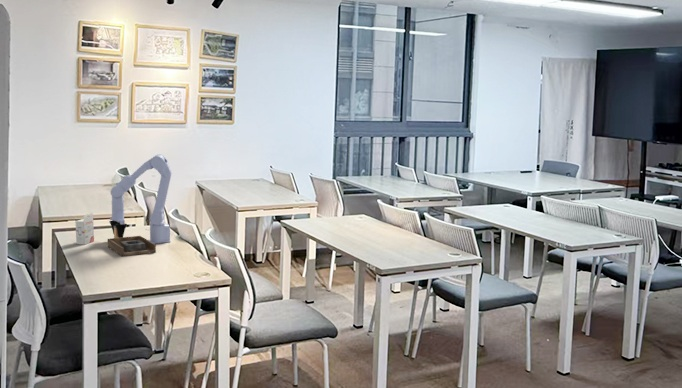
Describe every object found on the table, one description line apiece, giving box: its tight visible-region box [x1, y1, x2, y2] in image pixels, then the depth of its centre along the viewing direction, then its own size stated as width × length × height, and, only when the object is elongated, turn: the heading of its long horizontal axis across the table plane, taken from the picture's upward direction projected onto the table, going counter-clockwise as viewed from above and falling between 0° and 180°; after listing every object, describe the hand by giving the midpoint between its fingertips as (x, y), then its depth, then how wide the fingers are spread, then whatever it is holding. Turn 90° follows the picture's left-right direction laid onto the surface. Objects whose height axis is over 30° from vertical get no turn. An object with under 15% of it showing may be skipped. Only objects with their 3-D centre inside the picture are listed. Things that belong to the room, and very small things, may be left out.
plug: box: [113, 226, 119, 238], centre depth 346 cm, size 4×4×8 cm
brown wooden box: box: [107, 235, 157, 257], centre depth 330 cm, size 16×22×4 cm
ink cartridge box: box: [75, 212, 95, 246], centre depth 341 cm, size 9×5×15 cm, turn 168°
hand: (118, 236), depth 346 cm, fingers open, 7 cm apart
